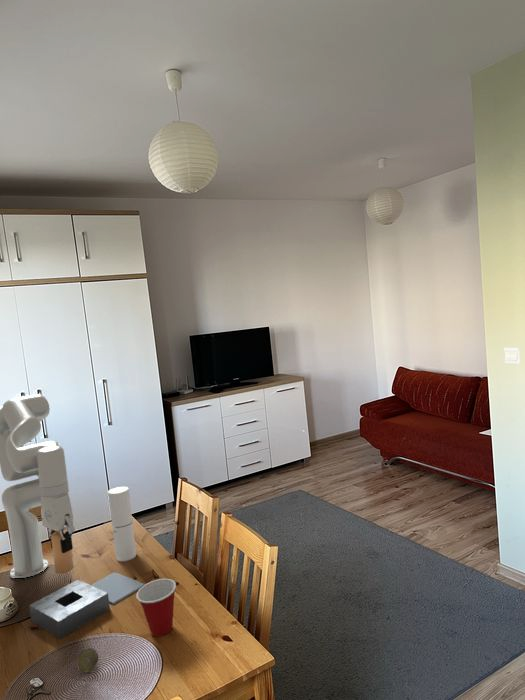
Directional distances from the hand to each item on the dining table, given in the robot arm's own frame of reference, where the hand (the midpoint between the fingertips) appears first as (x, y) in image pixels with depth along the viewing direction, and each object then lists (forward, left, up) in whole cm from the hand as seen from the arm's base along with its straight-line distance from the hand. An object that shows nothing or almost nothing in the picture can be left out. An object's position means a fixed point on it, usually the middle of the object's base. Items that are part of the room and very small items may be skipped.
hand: (62, 548), depth 151 cm
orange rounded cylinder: (0, 0, -7) cm, 7 cm away
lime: (+26, -11, -21) cm, 35 cm away
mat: (-1, +16, -21) cm, 26 cm away
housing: (0, 0, -21) cm, 21 cm away
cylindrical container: (-16, +32, -21) cm, 41 cm away
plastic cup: (+30, +9, -21) cm, 38 cm away
